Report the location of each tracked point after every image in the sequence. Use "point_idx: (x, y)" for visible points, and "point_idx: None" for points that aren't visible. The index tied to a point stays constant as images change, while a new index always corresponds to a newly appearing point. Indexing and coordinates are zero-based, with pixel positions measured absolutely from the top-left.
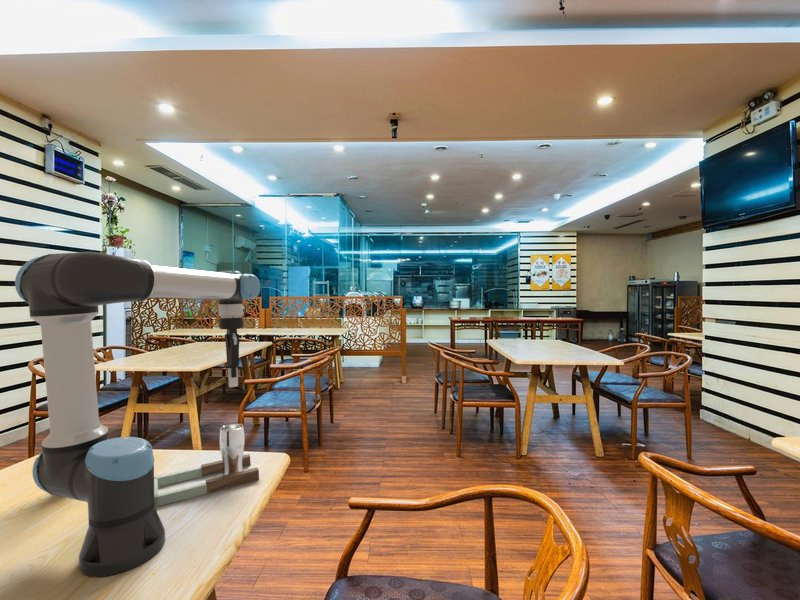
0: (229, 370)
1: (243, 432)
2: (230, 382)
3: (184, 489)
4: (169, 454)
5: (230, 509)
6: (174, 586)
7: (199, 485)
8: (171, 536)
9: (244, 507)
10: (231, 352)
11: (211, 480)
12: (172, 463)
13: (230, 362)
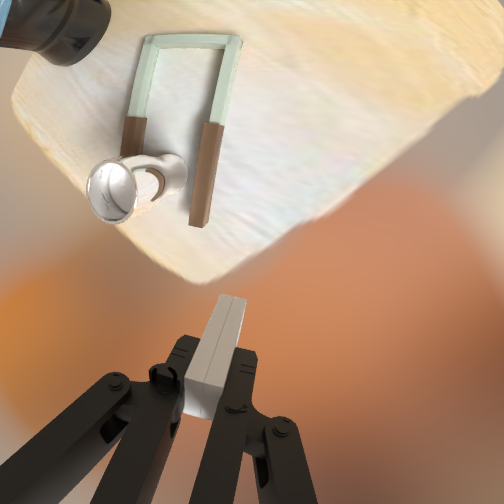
0: (191, 366)
1: (107, 214)
2: (212, 314)
3: (135, 81)
4: (404, 118)
5: (75, 140)
6: (20, 83)
7: (131, 105)
8: (70, 71)
9: (70, 158)
10: (24, 446)
11: (128, 125)
12: (343, 100)
13: (109, 401)
